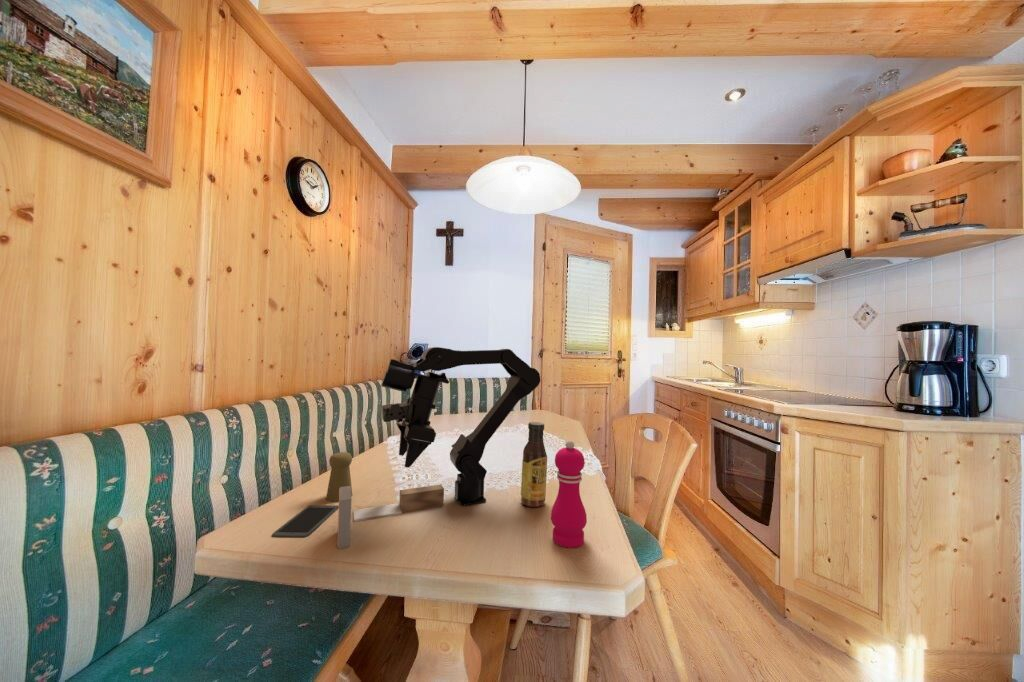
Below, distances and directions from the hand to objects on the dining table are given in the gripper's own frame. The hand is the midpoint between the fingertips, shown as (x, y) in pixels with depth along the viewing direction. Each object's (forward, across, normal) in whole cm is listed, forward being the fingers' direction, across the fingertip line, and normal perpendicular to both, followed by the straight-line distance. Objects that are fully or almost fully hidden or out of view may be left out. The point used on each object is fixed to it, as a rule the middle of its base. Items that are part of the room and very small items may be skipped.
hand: (403, 460), depth 84 cm
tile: (+14, +9, -9) cm, 19 cm away
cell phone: (+17, -2, -16) cm, 23 cm away
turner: (+11, 0, +3) cm, 11 cm away
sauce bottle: (+3, +9, +32) cm, 34 cm away
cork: (+15, -13, -10) cm, 22 cm away
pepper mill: (+3, +27, +30) cm, 41 cm away
